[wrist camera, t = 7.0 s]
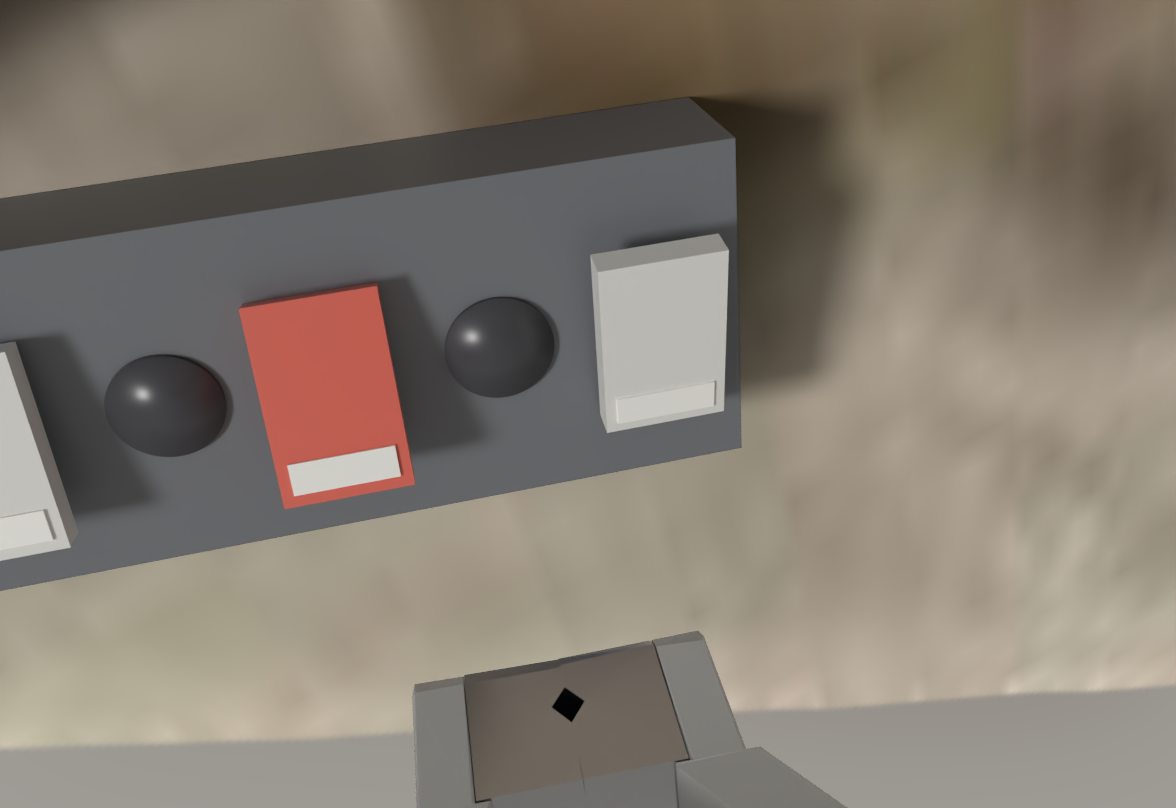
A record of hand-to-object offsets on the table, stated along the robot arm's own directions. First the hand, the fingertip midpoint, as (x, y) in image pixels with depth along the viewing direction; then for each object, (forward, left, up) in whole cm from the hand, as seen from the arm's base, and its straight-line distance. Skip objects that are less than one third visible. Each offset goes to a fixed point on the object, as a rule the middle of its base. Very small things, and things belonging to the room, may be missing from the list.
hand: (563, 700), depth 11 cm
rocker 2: (-5, +4, -16) cm, 17 cm away
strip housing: (+5, +4, -21) cm, 22 cm away
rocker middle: (+3, +4, -16) cm, 17 cm away
